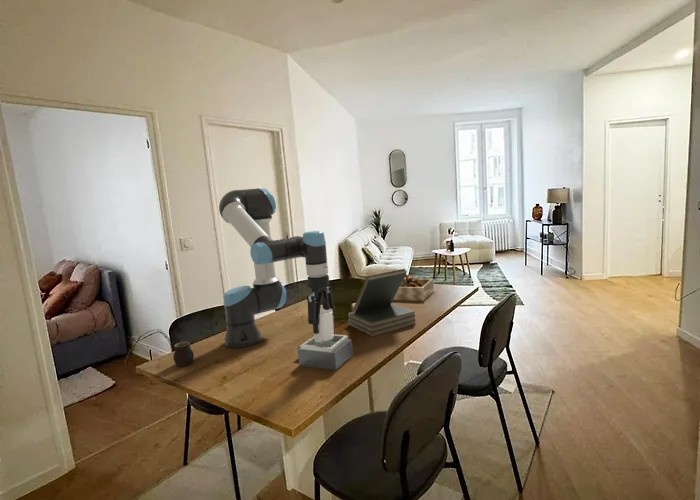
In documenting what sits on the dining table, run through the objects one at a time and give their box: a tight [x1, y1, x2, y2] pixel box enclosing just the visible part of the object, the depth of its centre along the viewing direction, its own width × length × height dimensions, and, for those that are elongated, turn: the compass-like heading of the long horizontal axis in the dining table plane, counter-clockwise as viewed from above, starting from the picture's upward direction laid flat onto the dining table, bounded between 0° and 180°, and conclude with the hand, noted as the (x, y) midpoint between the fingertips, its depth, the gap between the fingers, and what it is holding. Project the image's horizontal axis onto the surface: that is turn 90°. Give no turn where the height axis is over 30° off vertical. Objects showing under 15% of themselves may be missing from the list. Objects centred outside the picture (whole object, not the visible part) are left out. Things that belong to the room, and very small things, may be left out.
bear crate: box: [393, 278, 435, 302], centre depth 221 cm, size 21×21×7 cm
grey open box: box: [297, 333, 354, 371], centre depth 143 cm, size 19×13×8 cm
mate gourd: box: [173, 339, 195, 367], centre depth 151 cm, size 7×8×10 cm
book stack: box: [347, 268, 417, 337], centre depth 175 cm, size 23×20×25 cm
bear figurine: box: [404, 272, 421, 287], centre depth 221 cm, size 14×15×12 cm
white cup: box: [319, 307, 335, 341], centre depth 141 cm, size 8×8×10 cm
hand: (324, 337), depth 142 cm, fingers closed on white cup, 7 cm apart
